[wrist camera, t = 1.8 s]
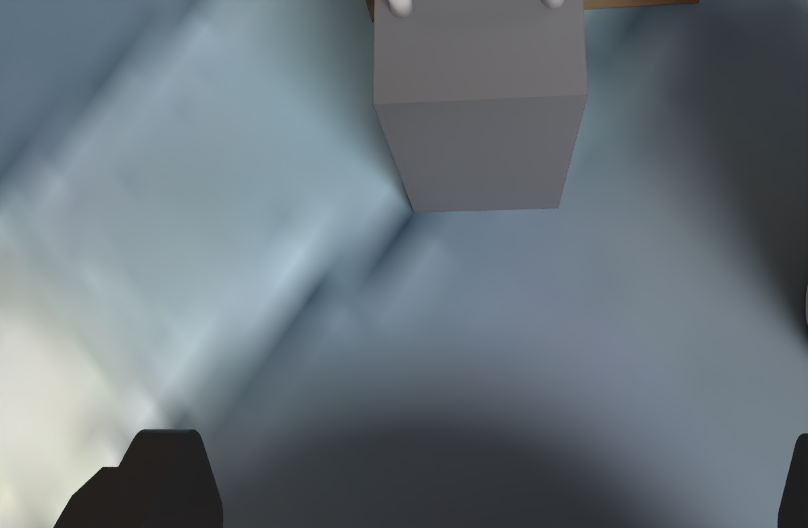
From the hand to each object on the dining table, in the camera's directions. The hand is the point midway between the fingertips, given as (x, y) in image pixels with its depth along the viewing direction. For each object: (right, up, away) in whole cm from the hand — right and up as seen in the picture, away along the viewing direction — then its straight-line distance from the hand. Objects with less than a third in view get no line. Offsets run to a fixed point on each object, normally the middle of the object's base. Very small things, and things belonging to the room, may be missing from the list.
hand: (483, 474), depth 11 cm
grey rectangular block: (+2, +8, +19) cm, 21 cm away
